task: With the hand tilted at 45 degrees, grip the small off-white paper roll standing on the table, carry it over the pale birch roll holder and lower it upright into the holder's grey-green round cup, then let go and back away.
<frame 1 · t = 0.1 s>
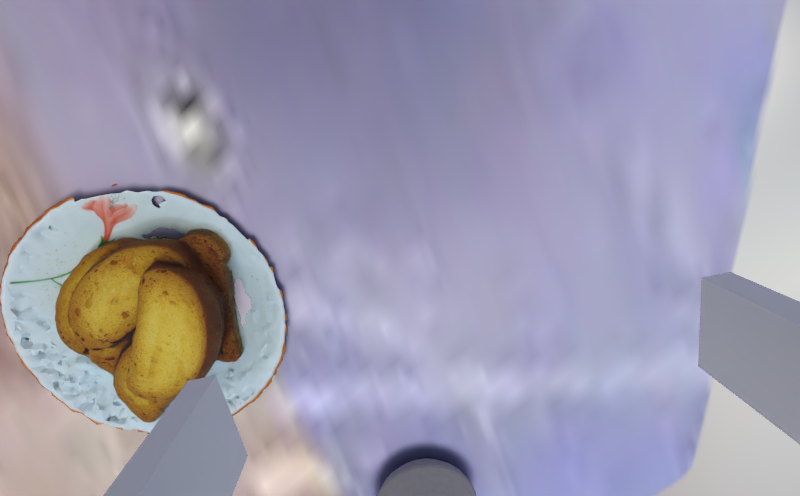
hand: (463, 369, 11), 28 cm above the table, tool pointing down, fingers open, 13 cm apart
coffee pot: (382, 484, 48), on the table
food on plate: (162, 309, 41), on the table
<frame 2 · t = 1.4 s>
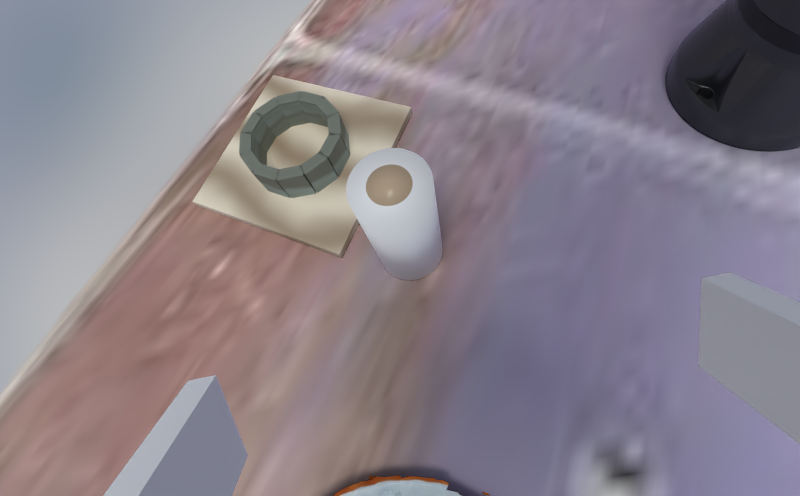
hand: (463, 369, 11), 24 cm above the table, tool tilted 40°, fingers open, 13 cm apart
paper roll: (410, 250, 38), on the table
roll holder: (305, 159, 44), on the table
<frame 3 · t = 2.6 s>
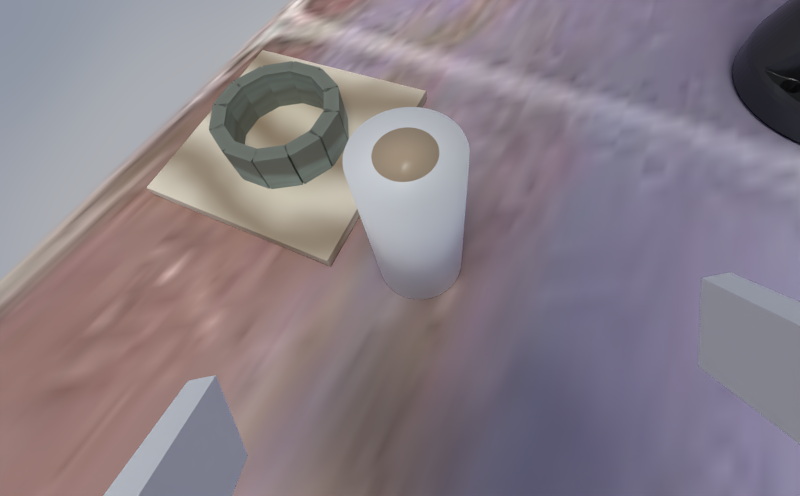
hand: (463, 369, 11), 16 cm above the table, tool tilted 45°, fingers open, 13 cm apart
paper roll: (420, 260, 30), on the table
roll holder: (293, 145, 36), on the table
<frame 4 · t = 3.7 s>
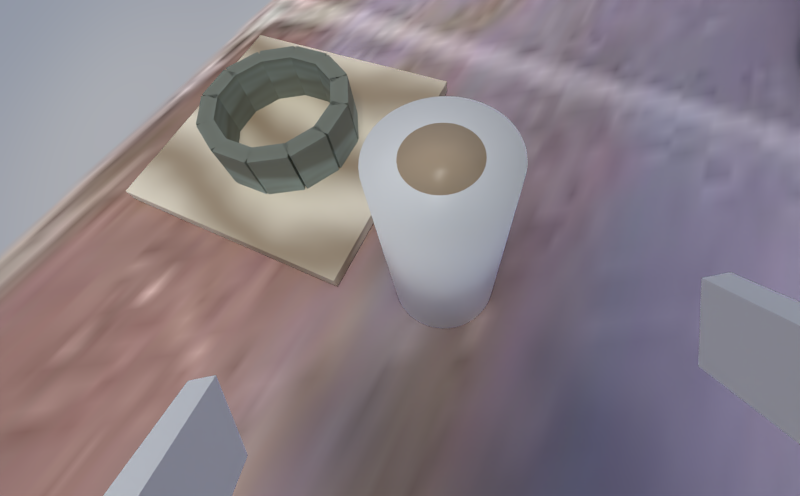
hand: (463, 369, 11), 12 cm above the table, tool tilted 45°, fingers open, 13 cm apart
paper roll: (443, 281, 25), on the table
roll holder: (294, 143, 31), on the table
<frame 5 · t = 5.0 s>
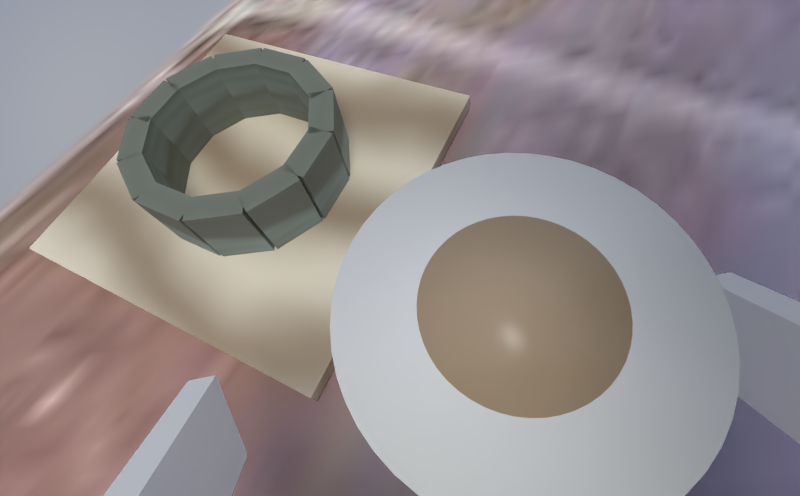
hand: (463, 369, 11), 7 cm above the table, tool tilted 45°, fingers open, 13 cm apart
paper roll: (473, 396, 17), on the table
roll holder: (264, 180, 23), on the table
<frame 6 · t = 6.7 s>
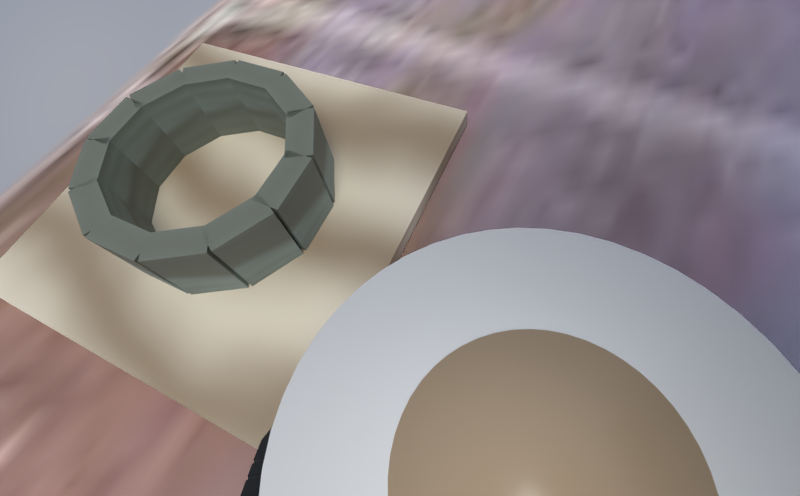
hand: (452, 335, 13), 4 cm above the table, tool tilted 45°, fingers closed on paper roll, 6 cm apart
paper roll: (473, 460, 15), on the table, touching gripper
roll holder: (241, 204, 21), on the table
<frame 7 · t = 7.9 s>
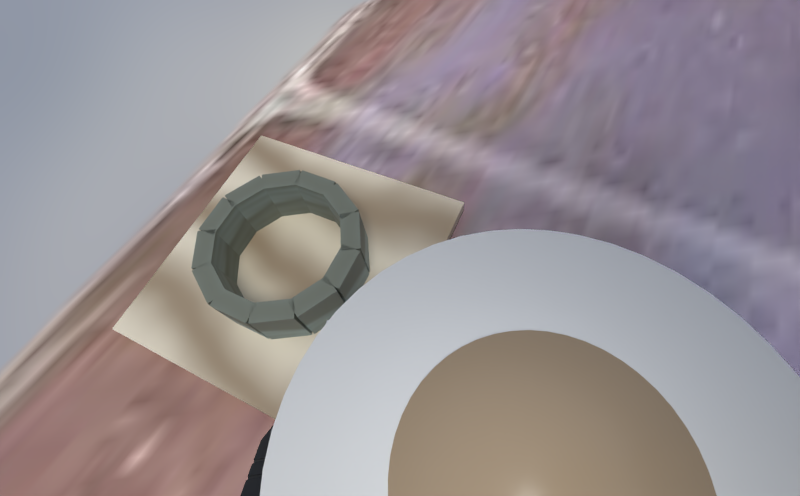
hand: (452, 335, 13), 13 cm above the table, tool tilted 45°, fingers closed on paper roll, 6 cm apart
paper roll: (473, 460, 15), point 9 cm above the table, touching gripper
roll holder: (299, 269, 29), on the table
when the fingers open (7 cm above the table, at t = 12.2 s): paper roll drops 1 cm, resting on roll holder.
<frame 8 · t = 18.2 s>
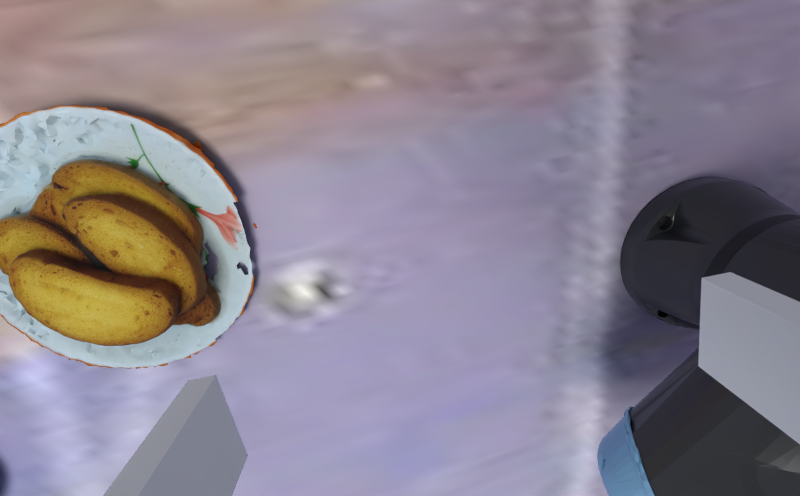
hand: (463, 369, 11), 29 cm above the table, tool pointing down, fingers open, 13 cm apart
food on plate: (126, 244, 39), on the table
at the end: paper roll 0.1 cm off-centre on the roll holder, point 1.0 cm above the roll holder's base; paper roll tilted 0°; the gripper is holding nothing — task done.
